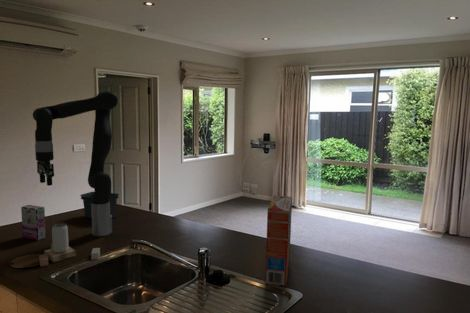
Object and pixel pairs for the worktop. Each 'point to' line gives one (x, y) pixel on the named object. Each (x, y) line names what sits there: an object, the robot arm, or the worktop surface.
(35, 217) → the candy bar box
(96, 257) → the brick cream
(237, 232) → the worktop surface
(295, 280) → the worktop surface
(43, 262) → the brick terracotta
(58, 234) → the can
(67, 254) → the oak pad
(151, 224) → the worktop surface
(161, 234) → the worktop surface
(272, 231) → the pasta box
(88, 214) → the storage bin
